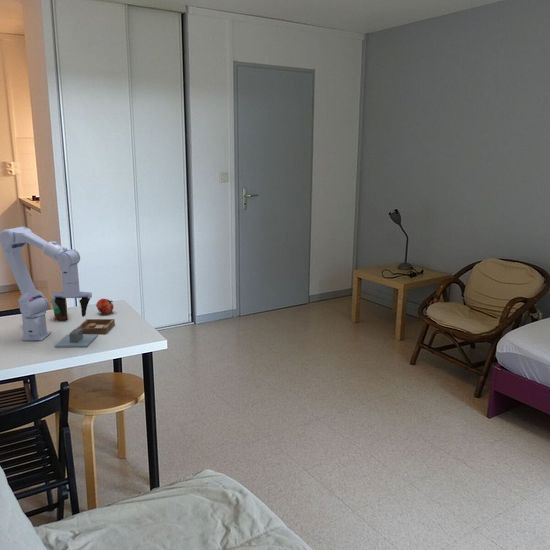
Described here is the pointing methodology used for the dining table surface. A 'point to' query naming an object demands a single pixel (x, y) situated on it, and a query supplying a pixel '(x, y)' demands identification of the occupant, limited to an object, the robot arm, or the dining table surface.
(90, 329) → the wooden tray
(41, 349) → the dining table surface
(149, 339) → the dining table surface
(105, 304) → the pomegranate
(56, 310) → the food container
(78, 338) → the lid
